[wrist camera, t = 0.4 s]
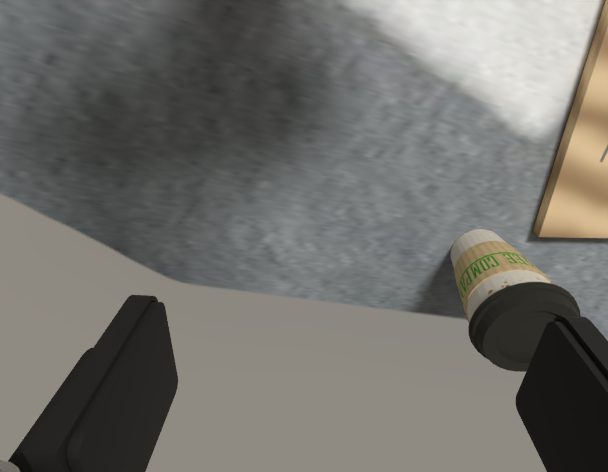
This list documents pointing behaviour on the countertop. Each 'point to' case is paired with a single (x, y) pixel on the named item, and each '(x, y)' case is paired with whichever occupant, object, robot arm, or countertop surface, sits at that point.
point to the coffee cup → (505, 299)
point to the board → (582, 155)
